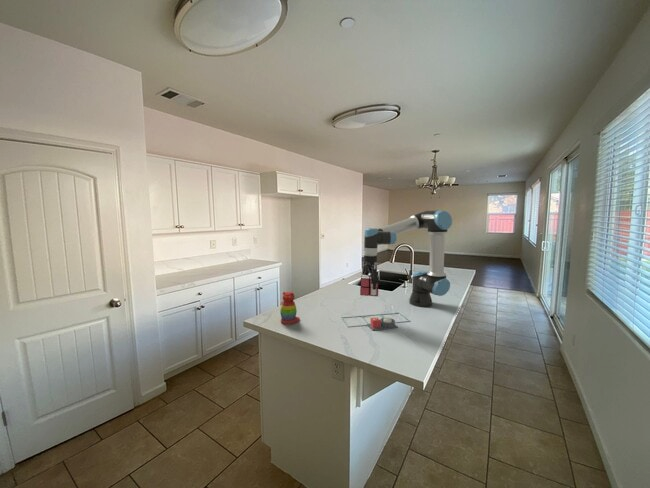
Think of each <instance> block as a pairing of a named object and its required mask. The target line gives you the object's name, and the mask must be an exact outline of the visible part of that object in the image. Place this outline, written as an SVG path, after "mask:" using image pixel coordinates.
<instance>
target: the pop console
mask: <svg viewBox="0 0 650 488" xmlns="http://www.w3.org/2000/svg"><path fill="white" fill-rule="evenodd" d="M390 318H391V319H392V322H389V323H387V322H383V319H384V318H383V317H382V318H379V317H377V316H376V317H370V321H369V322H370V323H369V324H368V323H367V324H366V325H368V328H369V329H370V330H371V331H381V330H382V331H384V330H394V329H399V326H397V324H396V323H395V322H396V320H395V319H393V318H392V317H390Z"/></svg>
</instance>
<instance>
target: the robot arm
mask: <svg viewBox="0 0 650 488" xmlns="http://www.w3.org/2000/svg"><path fill="white" fill-rule="evenodd" d="M452 225H453V218H452V216H451V214H450V212H448V211H447V210H425V211H422V212H418V213H416V214H413V215H411V216H410V217H409V218H406V219H403V220H399V221H397V222H394V223H391V224H389V225H385V226H383V227H379V228H376V227H375V228H372V227H366V228H365V230H364V237H363V238H364V241H363V244H364V245H363V246H364V247H363V266H362V267H363V269H362V272H361V276H362V275H371V280H372V282H371V295H376V284H377V283H378V276H379V275H378V270H377V269H378V266H377V265H375V263H377V262H378V256H377V255H378V246H379V245H389V246H390V245H395V244H396V242H397V238H398V237H397V236H398V235H400V234H402V233H403V234H404V233H405V232H409V231H411V230H414V231H415V230H420V229H427V233H428V234H429V269H428V270H417V271H413V273H412V286H411V287H412V288H411V289H412V290H411V295H410V296H409V299H408V300H409V301H408V303H409V304H410V305H411V306H415V307H420V308H423V307H424V308H428V307H431V306H432V305H433V300H432V296H431V294H432V295H434V296H437V297H442V296H445V295H446V294H447V293H448V292H449V291H450V288H451V282H450V280H449V279H448V278H447V273H446V272H445V269H444V268H445V244H446V243H445V239H446V237H445V236H446V234H447V233H448V230H449V229H450V228H451V226H452Z"/></svg>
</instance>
